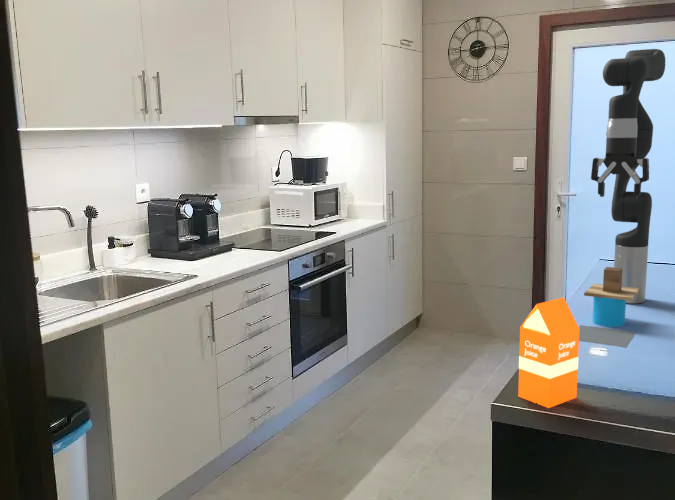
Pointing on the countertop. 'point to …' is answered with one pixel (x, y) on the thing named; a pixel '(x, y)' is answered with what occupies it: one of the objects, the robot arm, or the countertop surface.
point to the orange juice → (549, 354)
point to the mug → (609, 312)
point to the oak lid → (612, 286)
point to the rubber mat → (605, 336)
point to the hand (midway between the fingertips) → (618, 197)
